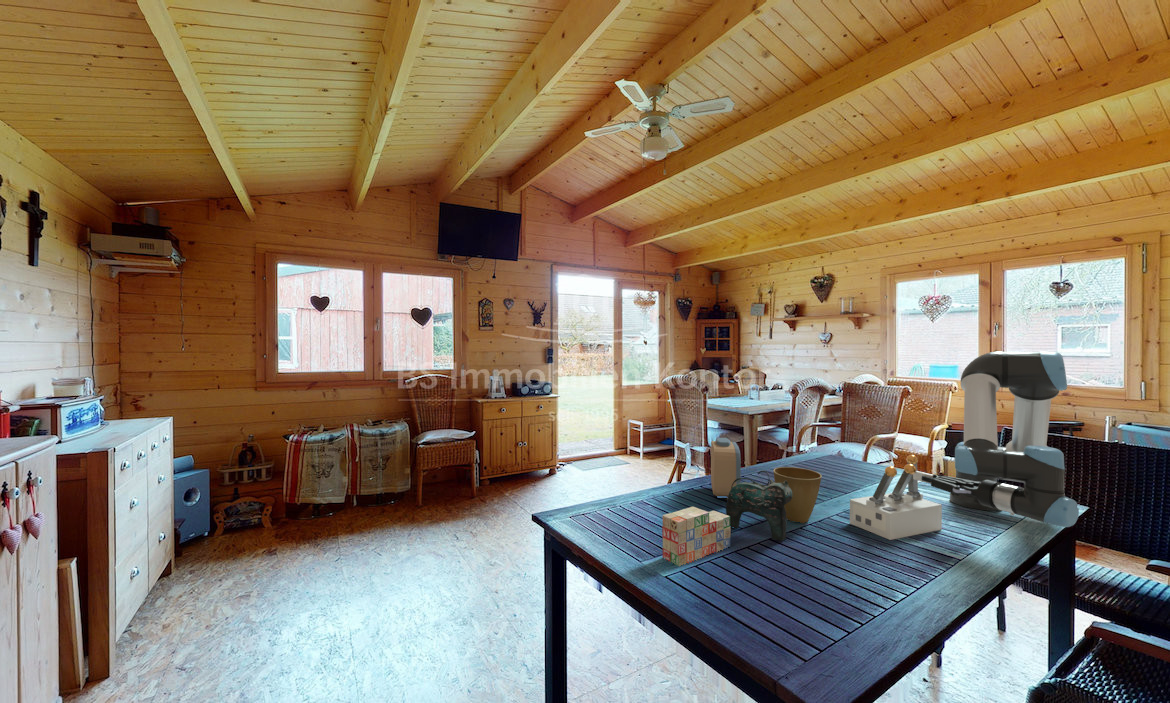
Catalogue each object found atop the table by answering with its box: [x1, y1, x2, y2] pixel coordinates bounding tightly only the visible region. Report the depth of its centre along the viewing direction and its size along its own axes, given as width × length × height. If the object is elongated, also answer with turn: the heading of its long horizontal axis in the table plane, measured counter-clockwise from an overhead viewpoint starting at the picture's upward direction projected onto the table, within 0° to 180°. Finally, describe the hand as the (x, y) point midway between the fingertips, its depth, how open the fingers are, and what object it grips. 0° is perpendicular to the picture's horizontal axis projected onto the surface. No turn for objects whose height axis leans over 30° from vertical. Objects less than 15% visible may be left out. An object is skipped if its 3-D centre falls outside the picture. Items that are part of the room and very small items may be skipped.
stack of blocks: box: [661, 506, 732, 567], centre depth 132 cm, size 21×6×12 cm, turn 124°
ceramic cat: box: [725, 470, 792, 542], centre depth 146 cm, size 20×6×20 cm, turn 47°
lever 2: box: [905, 454, 921, 498], centre depth 154 cm, size 3×3×14 cm
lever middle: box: [888, 464, 916, 501], centre depth 149 cm, size 3×3×14 cm
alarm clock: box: [710, 437, 742, 497], centre depth 185 cm, size 21×10×22 cm, turn 168°
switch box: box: [849, 492, 943, 541], centre depth 151 cm, size 24×14×10 cm, turn 110°
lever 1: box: [869, 465, 898, 504], centre depth 146 cm, size 3×3×14 cm
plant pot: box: [772, 466, 823, 524], centre depth 158 cm, size 15×15×16 cm
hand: (914, 474), depth 153 cm, fingers closed
